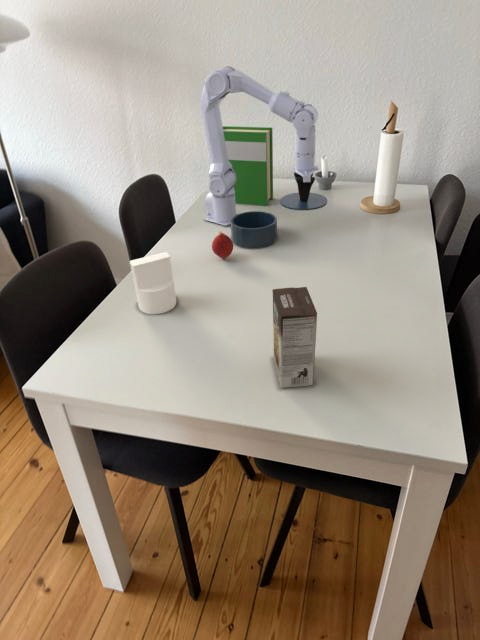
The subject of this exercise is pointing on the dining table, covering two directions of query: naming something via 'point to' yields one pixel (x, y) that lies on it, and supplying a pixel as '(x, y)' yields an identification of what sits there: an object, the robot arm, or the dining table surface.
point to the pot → (254, 229)
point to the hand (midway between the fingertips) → (303, 198)
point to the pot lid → (295, 203)
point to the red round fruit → (222, 245)
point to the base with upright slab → (154, 283)
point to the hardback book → (251, 162)
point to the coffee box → (294, 336)
